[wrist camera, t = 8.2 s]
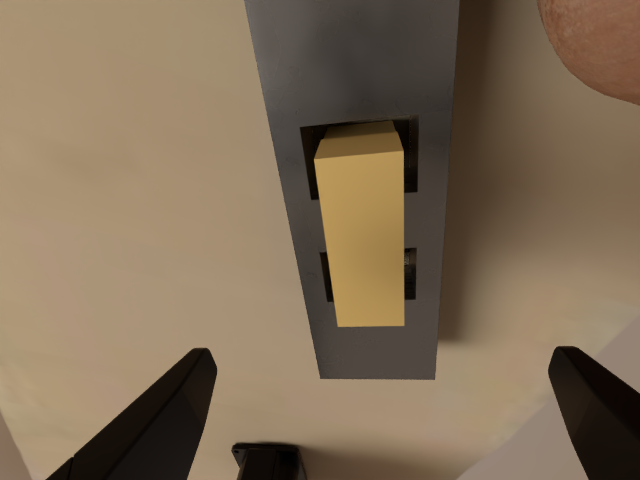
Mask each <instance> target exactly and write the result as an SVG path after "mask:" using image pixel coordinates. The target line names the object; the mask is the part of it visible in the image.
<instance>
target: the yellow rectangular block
mask: <svg viewBox="0 0 640 480" xmlns="http://www.w3.org/2000/svg"><path fill="white" fill-rule="evenodd" d="M314 163H315V170H316V177H317V184H318V191H319V198H320V205H321V212H322V219H323V226H324V233H325V240H326V247H327V254H328V261H329V268H330V275H331V282H332V289H333V296H334V303H335V310H336V317H337V324H338V327H362V326H404V151H403V148H402V145H401V141H400V138H399V135H398V132H396V131H395V128H394V124H393V121H392V120H391V121H381V122H372V123H363V124H353V125H344V126H335V127H328V128H327V131H326V134H325V136H324V139H322V140H321V141H320V144H319V147H318V149H317V152H316V155H315V158H314Z"/></svg>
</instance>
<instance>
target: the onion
mask: <svg viewBox="0 0 640 480" xmlns="http://www.w3.org/2000/svg"><path fill="white" fill-rule="evenodd" d="M537 3H538V9H539V12H540V16H541V19H542V23H543V25H544V27H545V30H546V33H547V35H548V37H549V41H550V42H551V44H552V45H553V47H554V49H555V51H556V53H557V55H558V56H559V58H560V60H561V61H562V63H563V64H564V65H565V67H566V68H567V69H568V70H569V71H570V72H571V73H572V74H573V75H575V76H576V77H577V78H578V79H580V80H581V81H582V82H583V83H584V84H586V85H587V86H589V87H591V88H592V89H594V90H596V91H598V92H600V93H602V94H604V95H607V96H610V97H614V98H617V99H621V100H624V101H627V102H631V103H633V104H636V105H638V106H639V105H640V0H537Z"/></svg>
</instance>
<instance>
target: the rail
mask: <svg viewBox="0 0 640 480" xmlns="http://www.w3.org/2000/svg"><path fill="white" fill-rule="evenodd" d="M244 2H245V7H246V12H247V17H248V22H249V27H250V32H251V37H252V42H253V47H254V52H255V57H256V62H257V67H258V72H259V77H260V82H261V86H262V91H263V96H264V101H265V106H266V111H267V116H268V121H269V126H270V131H271V136H272V141H273V146H274V151H275V156H276V161H277V166H278V171H279V176H280V181H281V186H282V190H283V195H284V200H285V205H286V210H287V215H288V220H289V225H290V230H291V235H292V240H293V245H294V250H295V255H296V260H297V265H298V270H299V275H300V280H301V285H302V290H303V295H304V299H305V304H306V309H307V314H308V319H309V324H310V329H311V334H312V339H313V344H314V349H315V354H316V359H317V364H318V369H319V374H320V379H416V380H435V371H436V355H437V340H438V325H439V309H440V294H441V279H442V264H443V248H444V233H445V218H446V202H447V187H448V172H449V156H450V141H451V126H452V110H453V95H454V80H455V64H456V49H457V34H458V18H459V3H460V0H244ZM404 115H410V167H409V168H404V248H409V265H404V326H362V327H338V324H337V317H336V310H335V303H334V296H333V289H332V282H331V275H330V268H329V261H328V254H327V247H326V240H325V233H324V226H323V219H322V212H321V205H320V198H319V191H318V184H317V177H316V170H315V163H314V158H315V148H314V141H313V133H312V126H313V125H322V124H332V123H341V122H350V121H359V120H368V119H377V118H386V117H395V116H404Z"/></svg>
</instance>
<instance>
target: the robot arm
mask: <svg viewBox="0 0 640 480" xmlns="http://www.w3.org/2000/svg"><path fill="white" fill-rule="evenodd" d="M548 374H549V378H550V381H551V384H552V387H553V390H554V393H555V396H556V399H557V402H558V405H559V408H560V411H561V413H562V416H563V419H564V422H565V425H566V428H567V431H568V434H569V436H570V439H571V442H572V444H573V446H574V449H575V451H576V453H577V455H578V457H579V460H580V462H581V464H582V466H583V468H584V470H585V472H586V475H587V477H588V479H589V480H640V393H638V392H637V391H636V390H634V389H633V388H632V387H630V386H629V385H628V384H626V383H625V382H624V381H622V380H621V379H619V378H618V377H617V376H616V375H614V374H613V373H611V372H610V371H609V370H607V369H606V368H605V367H603V366H602V365H601V364H599V363H598V362H597V361H595V360H594V359H593V358H591V357H590V356H589V355H587V354H586V353H584V352H583V351H582V350H580V349H579V348H577V347H574V346H558V347H556V348H555V350H554V352H553V355H552V358H551V361H550V364H549V368H548ZM216 376H217V366H216V364H215V361H214V359H213V357H212V355H211V352H210V350H209V349H208V348H194V349H192V350H191V351H190V352H188V353H187V354H186V355H185V356H184V357H183V358H182V359H181V360H179V361H178V362H177V363H176V364H175V365H174V366H173V367H172V368H171V369H169V370H168V371H167V372H166V373H165V374H164V375H163V376H162V377H160V378H159V379H158V380H157V381H156V382H155V383H154V384H153V385H151V386H150V387H149V388H148V389H147V390H146V391H145V392H144V393H143V394H141V395H140V396H139V397H138V398H137V399H136V400H135V401H134V402H132V403H131V404H130V405H129V406H128V407H127V408H126V409H125V410H123V411H122V412H121V413H120V414H119V415H118V416H117V417H116V418H114V419H113V420H112V421H111V422H110V423H109V424H108V425H107V426H106V427H104V428H103V429H102V430H101V431H100V432H99V433H98V434H97V435H95V436H94V437H93V438H92V439H91V440H90V441H89V442H88V443H86V444H85V445H84V446H83V447H82V448H81V449H80V450H79V451H78V452H76V453H75V454H74V457H71V458H70V459H68V460H67V461H66V462H65V463H64V464H63V465H62V466H61V467H59V468H58V469H57V470H56V471H55V472H54V473H53V474H51V475H50V476H49V477H48V478H47V479H46V480H187V478H188V475H189V472H190V469H191V466H192V463H193V460H194V457H195V454H196V451H197V448H198V445H199V442H200V439H201V436H202V433H203V430H204V427H205V423H206V419H207V415H208V410H209V406H210V402H211V397H212V393H213V389H214V385H215V380H216ZM231 451H232V453H233V455H234V457H235V459H236V461H237V464H238V466H239V468H240V470H239V473H238V477H237V480H307V476H306V473H305V470H304V466H303V463H302V460H301V456H300V453H299V450H298V449H297V448H296V447H284V446H259V445H233V447H232V450H231Z"/></svg>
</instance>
